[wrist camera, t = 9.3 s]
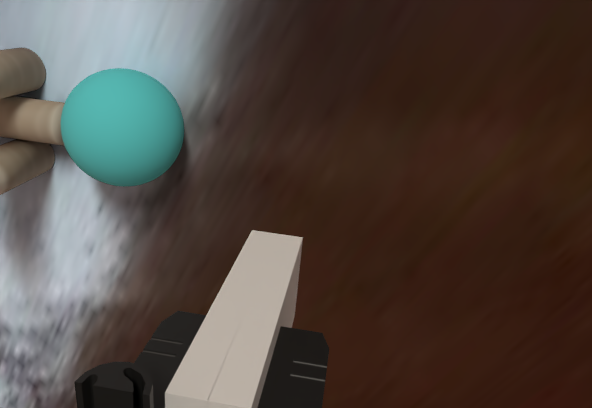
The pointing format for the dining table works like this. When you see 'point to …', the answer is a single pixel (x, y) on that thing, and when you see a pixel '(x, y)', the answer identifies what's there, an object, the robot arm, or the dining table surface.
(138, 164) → the ball
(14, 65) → the pin
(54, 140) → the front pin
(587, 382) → the dining table surface
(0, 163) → the pin
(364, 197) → the dining table surface
